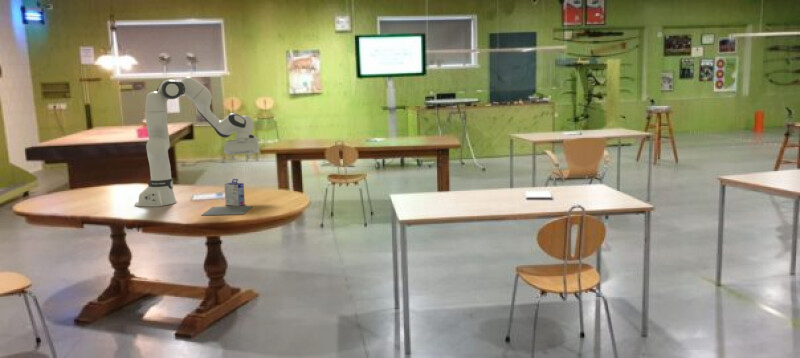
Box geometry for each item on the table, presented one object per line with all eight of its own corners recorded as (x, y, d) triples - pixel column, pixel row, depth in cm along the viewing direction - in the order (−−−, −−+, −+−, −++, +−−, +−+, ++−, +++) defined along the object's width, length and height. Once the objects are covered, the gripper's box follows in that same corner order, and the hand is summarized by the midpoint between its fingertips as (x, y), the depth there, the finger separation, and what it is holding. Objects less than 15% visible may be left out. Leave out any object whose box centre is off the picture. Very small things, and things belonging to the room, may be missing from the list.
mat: (201, 215, 334) (201, 214, 334) (212, 207, 354) (212, 206, 354) (243, 214, 334) (243, 213, 334) (252, 206, 354) (252, 205, 353)
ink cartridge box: (245, 204, 360) (243, 179, 357) (239, 206, 355) (237, 180, 353) (231, 203, 364) (229, 178, 362) (225, 205, 359) (223, 179, 357)
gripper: (224, 137, 378) (220, 156, 370) (258, 135, 377) (255, 154, 369) (227, 144, 383) (224, 162, 375) (261, 142, 382) (258, 160, 374)
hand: (240, 158), depth 372 cm, fingers open, 8 cm apart
